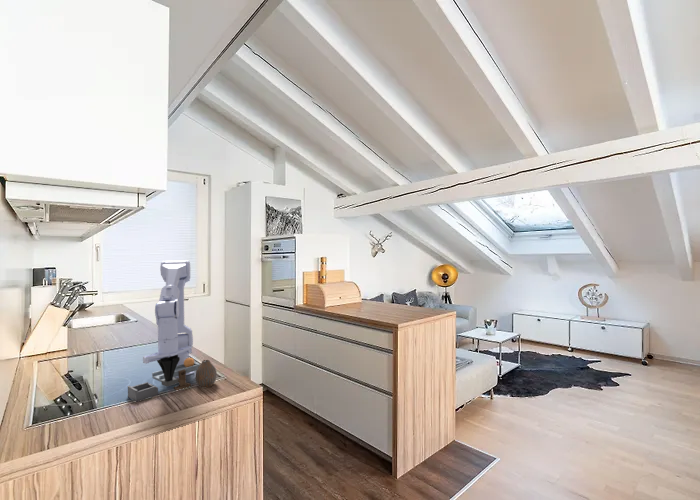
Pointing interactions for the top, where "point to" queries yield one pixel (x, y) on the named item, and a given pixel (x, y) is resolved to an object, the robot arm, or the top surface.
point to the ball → (189, 362)
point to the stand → (182, 380)
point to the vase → (206, 374)
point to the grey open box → (142, 391)
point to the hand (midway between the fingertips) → (168, 380)
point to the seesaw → (160, 375)
